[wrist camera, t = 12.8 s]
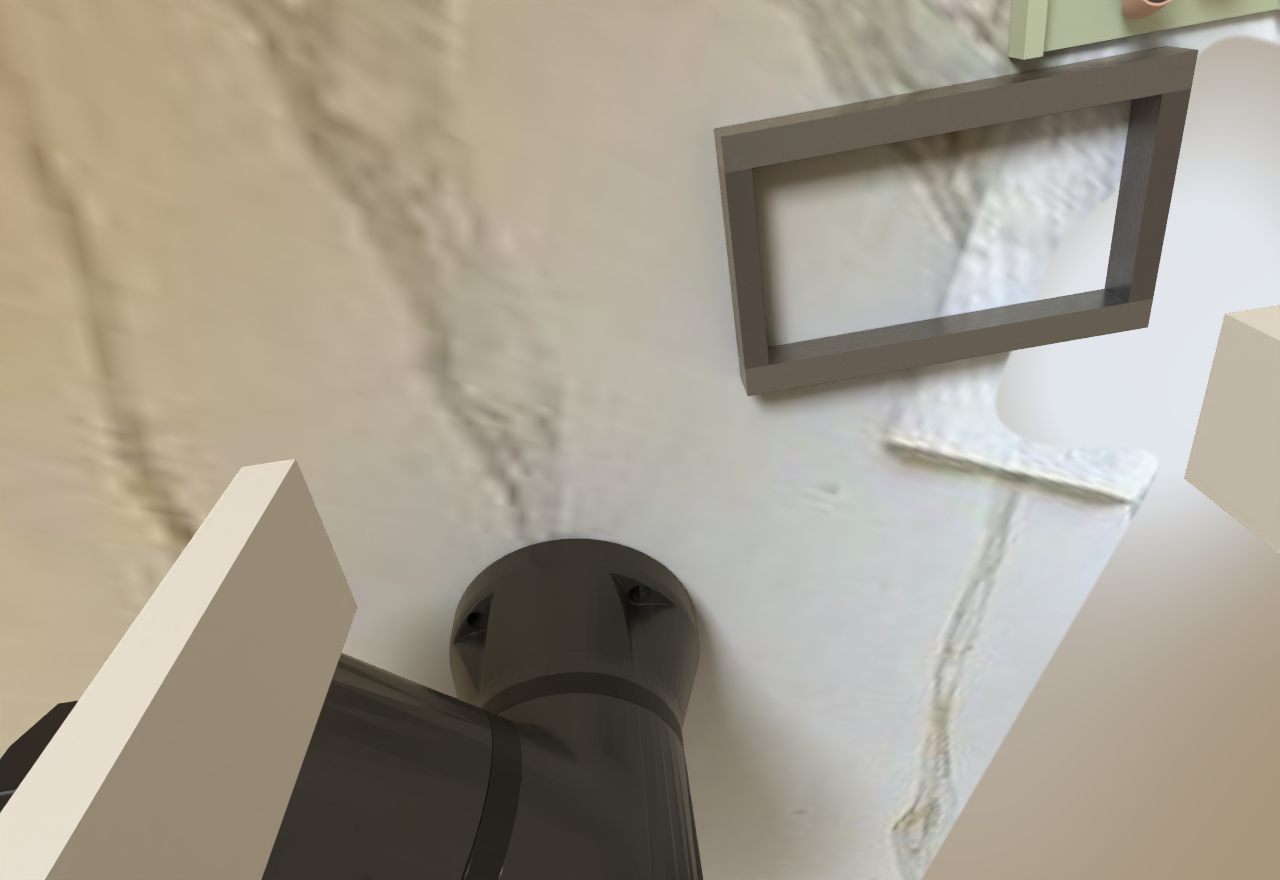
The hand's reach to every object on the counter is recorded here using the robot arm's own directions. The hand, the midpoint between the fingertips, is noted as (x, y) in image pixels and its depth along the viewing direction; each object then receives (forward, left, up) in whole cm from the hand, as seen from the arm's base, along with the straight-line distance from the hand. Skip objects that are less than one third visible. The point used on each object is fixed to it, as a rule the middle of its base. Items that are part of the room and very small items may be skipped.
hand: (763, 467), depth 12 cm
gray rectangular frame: (-6, -13, -27) cm, 31 cm away
